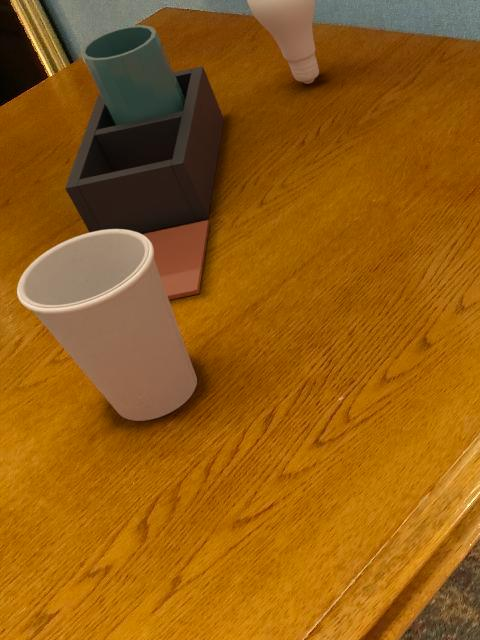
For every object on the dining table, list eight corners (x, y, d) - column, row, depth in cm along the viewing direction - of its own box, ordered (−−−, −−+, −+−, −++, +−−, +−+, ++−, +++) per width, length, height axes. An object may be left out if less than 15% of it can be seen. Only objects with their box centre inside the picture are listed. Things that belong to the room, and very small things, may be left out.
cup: (130, 178, 89) (74, 66, 82) (139, 144, 93) (87, 35, 86) (200, 163, 89) (150, 49, 82) (206, 130, 93) (159, 19, 86)
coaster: (69, 321, 75) (67, 317, 75) (91, 249, 82) (88, 245, 82) (199, 293, 75) (197, 289, 75) (209, 224, 82) (208, 219, 81)
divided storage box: (95, 243, 82) (64, 188, 79) (125, 140, 95) (100, 88, 91) (208, 218, 82) (183, 162, 79) (224, 118, 94) (202, 65, 91)
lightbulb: (285, 72, 99) (244, -48, 91) (344, 64, 98) (308, -59, 90) (273, 101, 95) (228, -22, 87) (334, 92, 94) (295, -33, 86)
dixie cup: (109, 363, 71) (35, 240, 63) (224, 344, 70) (162, 217, 63) (83, 444, 65) (-2, 319, 58) (206, 423, 65) (137, 294, 57)
